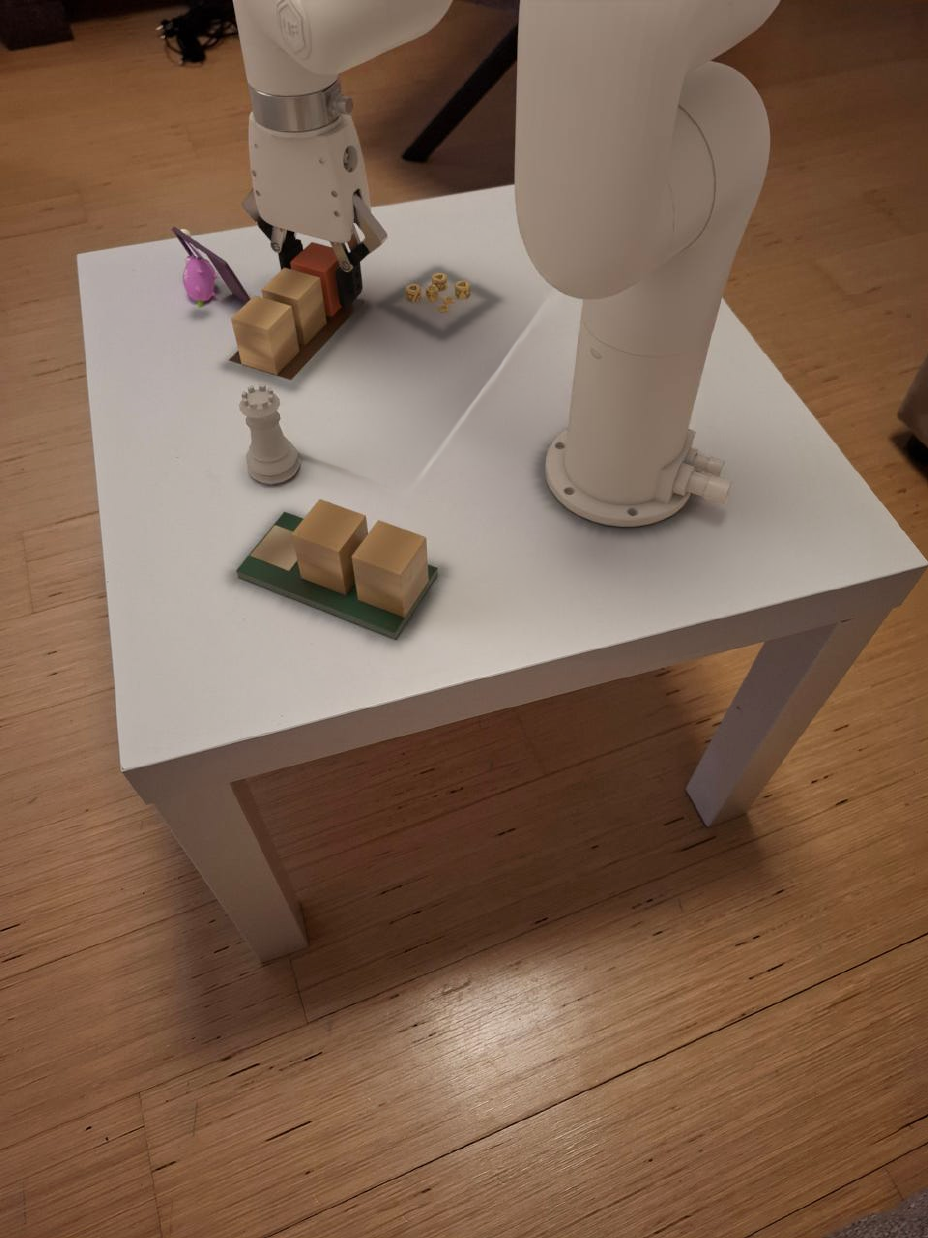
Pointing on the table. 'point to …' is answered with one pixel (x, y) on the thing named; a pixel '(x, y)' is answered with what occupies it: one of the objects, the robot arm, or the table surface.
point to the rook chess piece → (267, 438)
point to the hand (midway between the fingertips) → (323, 290)
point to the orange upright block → (321, 272)
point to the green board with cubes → (344, 566)
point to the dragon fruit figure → (206, 271)
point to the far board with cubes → (285, 324)
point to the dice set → (433, 291)
